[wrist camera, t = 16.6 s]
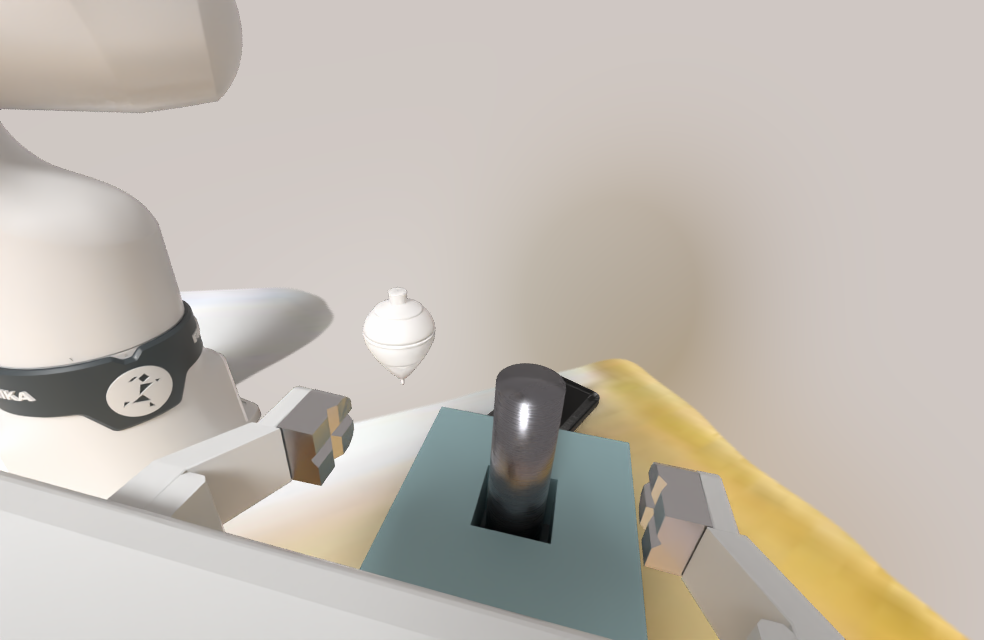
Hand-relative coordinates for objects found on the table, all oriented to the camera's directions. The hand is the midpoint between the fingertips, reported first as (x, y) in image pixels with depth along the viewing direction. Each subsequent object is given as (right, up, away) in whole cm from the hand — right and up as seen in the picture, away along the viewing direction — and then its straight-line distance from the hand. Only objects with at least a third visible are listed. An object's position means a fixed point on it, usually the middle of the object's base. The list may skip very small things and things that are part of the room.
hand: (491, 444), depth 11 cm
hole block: (+1, -14, +21) cm, 25 cm away
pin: (+1, -14, +20) cm, 24 cm away
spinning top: (-10, -4, +39) cm, 40 cm away
